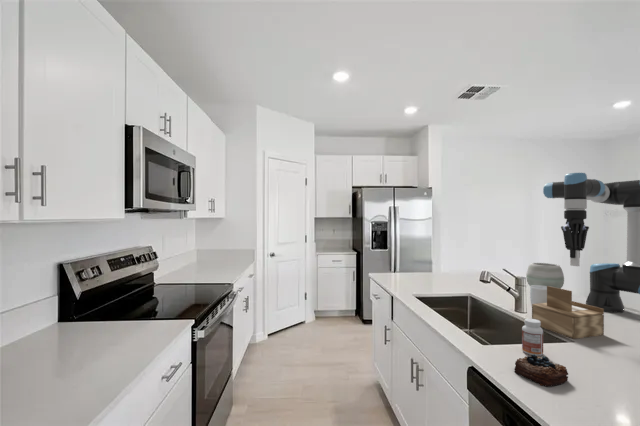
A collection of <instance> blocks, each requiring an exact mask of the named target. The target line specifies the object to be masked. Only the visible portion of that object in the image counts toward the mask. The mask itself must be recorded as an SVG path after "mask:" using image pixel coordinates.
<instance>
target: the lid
mask: <svg viewBox="0 0 640 426" xmlns="http://www.w3.org/2000/svg"><path fill="white" fill-rule="evenodd" d="M532 305H533V306H536V307H539V308H543V309H546V310H550V311H553V312H557V313H560V314H563V315H567V316H570V317H583V316H593V315H604V313H605V311H604V309H603V308H599V307H594V306H590V305H586V303H582V302H577V301H573V291H572V290H569V289H565V288H561V289H560V288H555V287H551V286H547V303H537V304H532Z"/></svg>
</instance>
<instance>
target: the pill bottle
mask: <svg viewBox="0 0 640 426" xmlns="http://www.w3.org/2000/svg"><path fill="white" fill-rule="evenodd" d="M540 325H541V322H540V321H539V320H536V319H532V318H525V319H524V325H522V327H521V347H522V348H521V349H522V352H523V353H525V354H527V355H528V356H531V355H534V354H535V355H536V356H538V357H541V356H542V355H544V329H543V328H541V327H540Z"/></svg>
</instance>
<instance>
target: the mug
mask: <svg viewBox="0 0 640 426" xmlns="http://www.w3.org/2000/svg"><path fill="white" fill-rule="evenodd" d="M529 293H530V294H529V299H530V305H531V307H532V306H533V305H532V304H537V303H547V286H542V285H532V286H530V285H529Z"/></svg>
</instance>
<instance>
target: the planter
mask: <svg viewBox="0 0 640 426" xmlns="http://www.w3.org/2000/svg"><path fill="white" fill-rule="evenodd" d="M563 271H564V270H563V269H562V267H561V265H559V264H555V263H549V262H531V263H529V265H528V267H527V269H526V277H525V278H526V282H527V284H528V285H529V287H530V286H532V285H542V286H551V287H555V288H560V289H563V287H564V285H565V276H564V272H563Z"/></svg>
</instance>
